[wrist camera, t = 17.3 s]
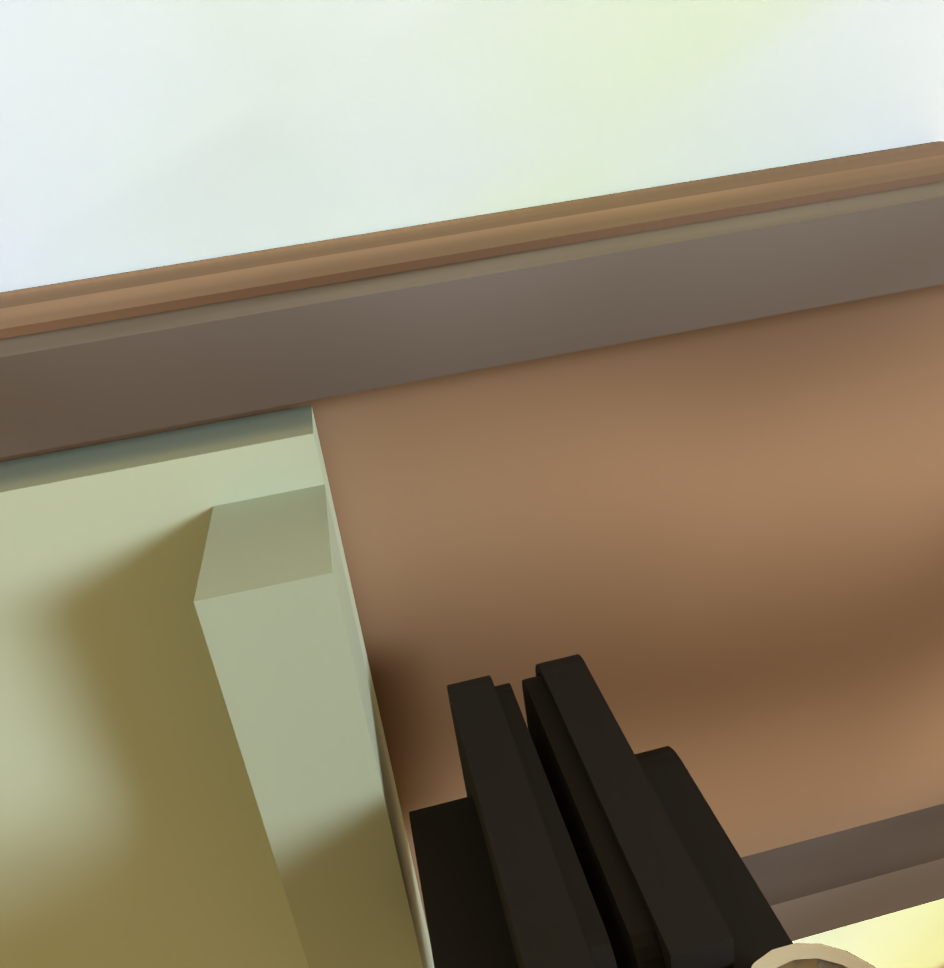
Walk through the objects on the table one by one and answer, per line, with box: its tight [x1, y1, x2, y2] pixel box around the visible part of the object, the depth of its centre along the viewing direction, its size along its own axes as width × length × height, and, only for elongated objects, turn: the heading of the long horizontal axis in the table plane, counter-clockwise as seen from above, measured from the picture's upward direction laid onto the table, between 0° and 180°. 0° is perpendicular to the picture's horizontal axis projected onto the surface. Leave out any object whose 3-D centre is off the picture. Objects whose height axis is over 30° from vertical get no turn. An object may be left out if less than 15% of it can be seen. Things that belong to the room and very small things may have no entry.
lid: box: [0, 405, 434, 968], centre depth 10 cm, size 9×8×3 cm
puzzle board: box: [0, 142, 944, 968], centre depth 13 cm, size 12×22×4 cm, turn 98°
